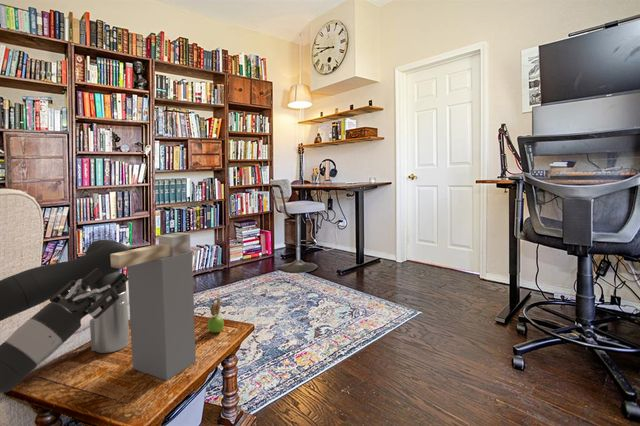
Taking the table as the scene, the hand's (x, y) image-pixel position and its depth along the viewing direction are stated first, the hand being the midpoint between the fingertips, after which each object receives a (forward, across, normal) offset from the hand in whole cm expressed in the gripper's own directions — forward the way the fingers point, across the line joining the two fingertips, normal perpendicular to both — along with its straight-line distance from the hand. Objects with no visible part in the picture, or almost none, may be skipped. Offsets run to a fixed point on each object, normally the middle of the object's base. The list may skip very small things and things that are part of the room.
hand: (112, 273), depth 78 cm
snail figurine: (+18, +5, +46) cm, 50 cm away
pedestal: (-2, +4, +35) cm, 35 cm away
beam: (+10, 0, +4) cm, 11 cm away
